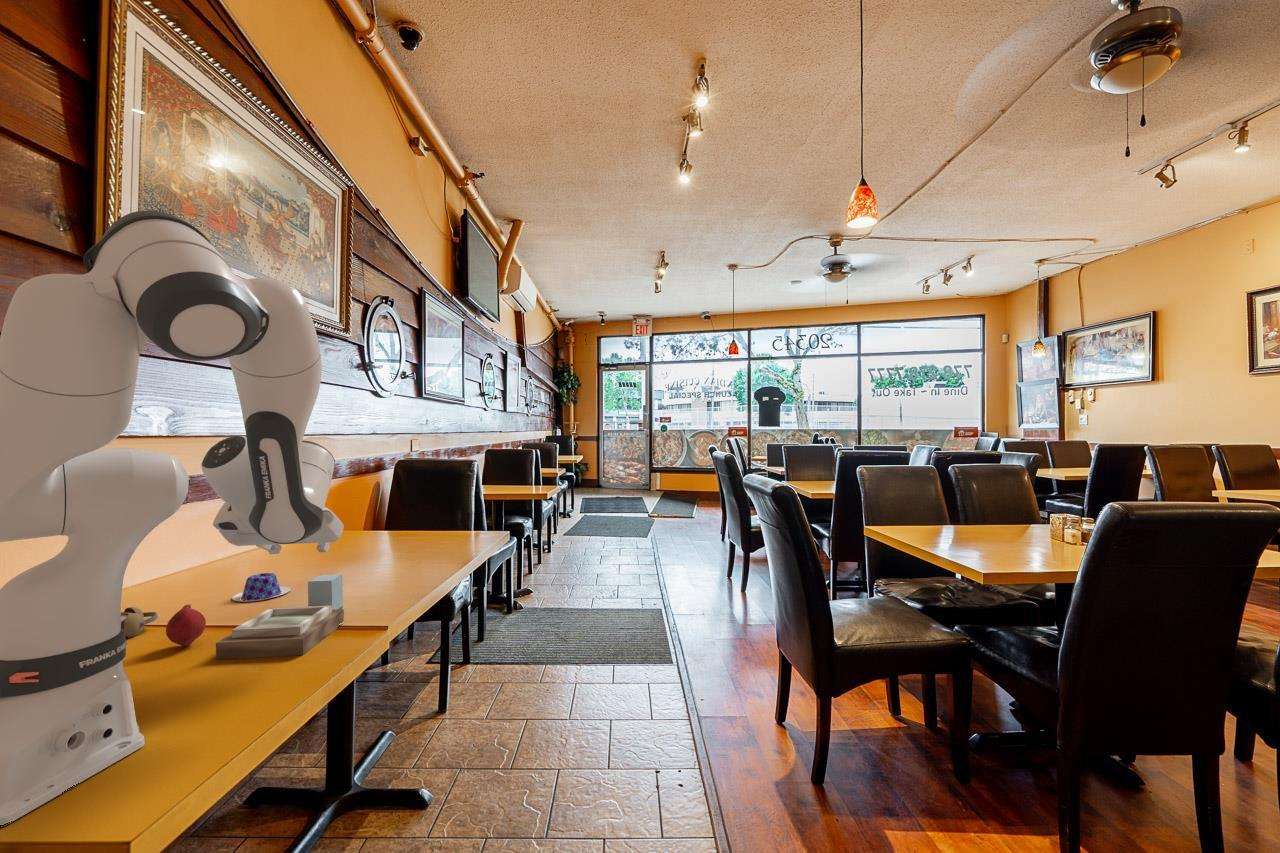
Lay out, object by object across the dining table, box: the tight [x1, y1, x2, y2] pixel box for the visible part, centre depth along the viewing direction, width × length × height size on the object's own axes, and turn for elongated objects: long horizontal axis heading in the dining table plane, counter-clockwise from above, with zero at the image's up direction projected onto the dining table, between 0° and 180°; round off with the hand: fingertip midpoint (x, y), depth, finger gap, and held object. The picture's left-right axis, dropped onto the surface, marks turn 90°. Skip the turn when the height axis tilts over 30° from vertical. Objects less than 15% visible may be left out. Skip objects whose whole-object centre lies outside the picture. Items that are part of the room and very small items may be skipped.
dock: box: [215, 605, 345, 660], centre depth 106 cm, size 16×15×4 cm
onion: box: [165, 603, 207, 647], centre depth 103 cm, size 6×6×8 cm
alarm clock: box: [121, 606, 158, 638], centre depth 109 cm, size 11×5×15 cm
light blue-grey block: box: [307, 573, 344, 610], centre depth 121 cm, size 5×5×8 cm
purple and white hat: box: [231, 572, 291, 602], centre depth 135 cm, size 12×12×5 cm
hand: (301, 550), depth 108 cm, fingers open, 8 cm apart
